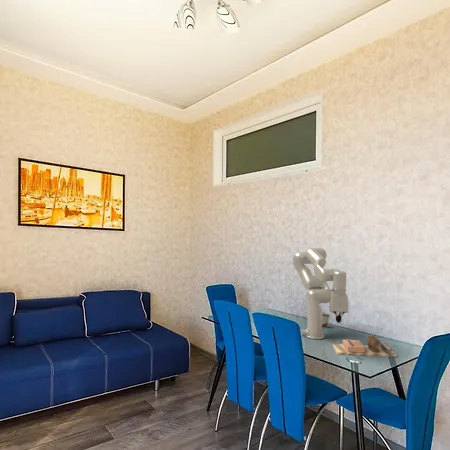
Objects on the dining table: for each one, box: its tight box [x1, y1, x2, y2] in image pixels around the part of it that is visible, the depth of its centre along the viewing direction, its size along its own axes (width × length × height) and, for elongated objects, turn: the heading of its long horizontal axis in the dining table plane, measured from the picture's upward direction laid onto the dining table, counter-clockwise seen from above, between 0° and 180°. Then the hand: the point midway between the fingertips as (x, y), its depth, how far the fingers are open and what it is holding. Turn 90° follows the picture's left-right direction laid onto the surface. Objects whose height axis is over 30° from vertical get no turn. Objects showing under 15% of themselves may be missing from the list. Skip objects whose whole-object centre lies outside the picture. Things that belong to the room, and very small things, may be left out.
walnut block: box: [367, 335, 381, 352], centre depth 204 cm, size 4×8×7 cm, turn 175°
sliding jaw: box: [342, 338, 365, 353], centre depth 205 cm, size 10×12×4 cm
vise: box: [331, 341, 398, 358], centre depth 204 cm, size 33×14×4 cm, turn 85°
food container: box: [322, 311, 330, 329], centre depth 253 cm, size 12×6×10 cm, turn 84°
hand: (338, 322), depth 206 cm, fingers closed
